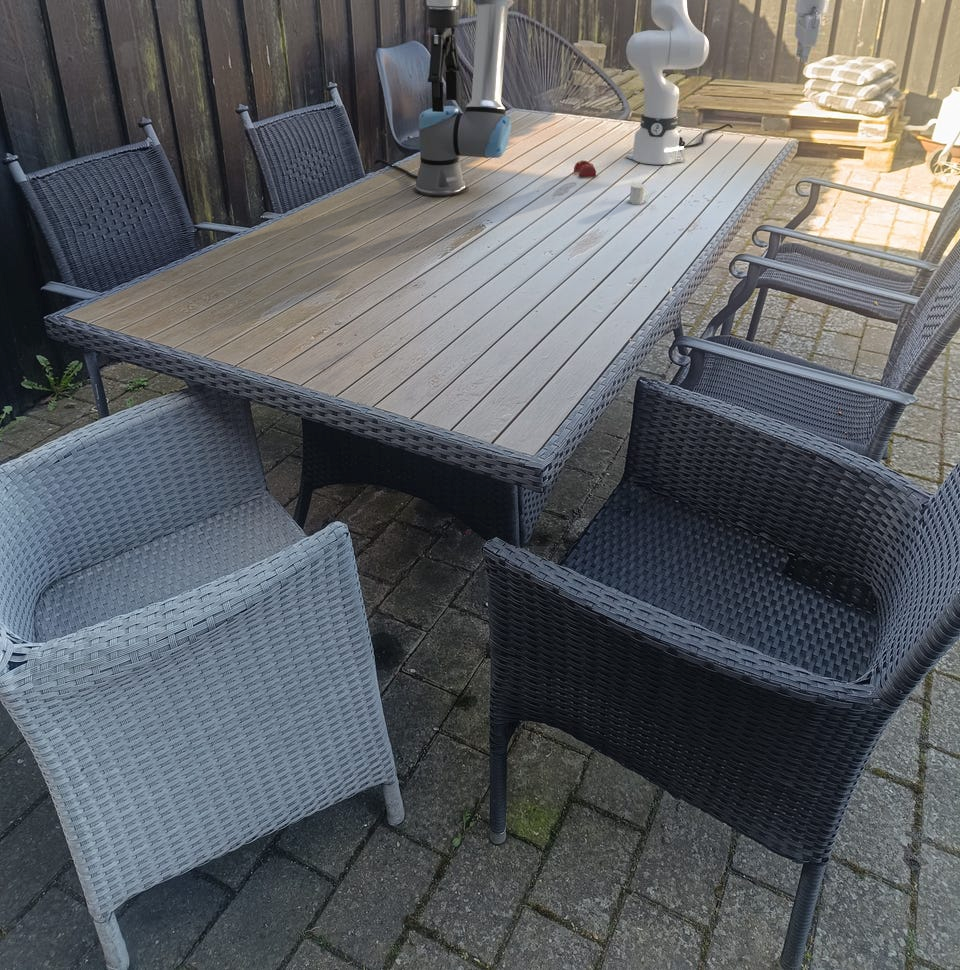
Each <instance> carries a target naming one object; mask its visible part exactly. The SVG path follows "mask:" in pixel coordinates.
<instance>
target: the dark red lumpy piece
mask: <svg viewBox="0 0 960 970" xmlns="http://www.w3.org/2000/svg"><path fill="white" fill-rule="evenodd" d="M573 173H574V174H575V173H578V177H579V178H589V177H590V178H591V177H596V176H597V170H596V167H595V165H594V164H593V163H591V162H588V160H579V161H578V162H576V163H575V164H574V167H573Z"/></svg>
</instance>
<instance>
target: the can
mask: <svg viewBox="0 0 960 970" xmlns="http://www.w3.org/2000/svg"><path fill="white" fill-rule="evenodd" d="M629 192H630V193H629V201H628V202H629V203H630V204H633V205H641V204H643V203H644V201H645V193H646V185H645V184H643V183H632V184H630V191H629Z"/></svg>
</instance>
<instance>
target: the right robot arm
mask: <svg viewBox="0 0 960 970" xmlns="http://www.w3.org/2000/svg"><path fill="white" fill-rule="evenodd" d="M830 2H831V1H830V0H796V3H795V9H794V12H795V13H796V18H795V27H794V37H795V39H796V40H797V46H796V47H797V48H796V53H795V56H796V57H797V58H800V62H801V63H808V61H809V56H810V54H811V51H812V48H814V47H816V46H817V44H818V40H819V36H820V35H819V34H820V29H821V25H822V24H821V22H822V17H823V15H826V14H828V11H829V5H830ZM650 16H651V19H652V21H653V22H654V25H656V26H657V27H658V28H660V30H658V29H657V30H653V29H652V30H649V29H647V30H643V31H639V32H634V33H633V34H632V35H631V36H630V38H629V40H628V41H627V44H626V48H625V54H626V55H625V56H626V59H627V62H628V63H629V65H630V66H631V67H632V68H633V69H634V70H635V71H636V72H637V73H638V75H639V77H640V79H641V82H642V85H643V91H644V93H643V110H642V114H641V116H640V123H639V125H640V127H639V129H638V130H636V132H634V139H633V144H632V145H633V146H632V151H630V152H629V153H627V154H626V158H627V159H630V160H633V161H635V162H636V163H641V164H646V165H654V166H655V165H658V166H659V165H662V166H663V165H670V164H674V163H683V162H684V157H683V155H682V153H681V150H684V149H685V148H693V147H696V146H700V145H702V144H703V143H704V141H705V137H706V135H707V134H708V133H712V132H716V131H720V130H723V129H725V128H726V127H729V128H730V129H733V128H734V127H733V125H732V124H731V123H726V124H724V125H721V126H719V127H716V128H712V129H707V130H705V131H704V132H703V133H702V136H701V141H699V142H697V143H693V144H688V145H686V141H685V140H683V137H682V136H680V134H679V132H678V131H677V127H678V122H679V117H678V109H679V101H680V89H679V87H678V86H677V85H676V84H675V83H673V82H672V81H671V80H669V79H667V78H665V77H664V75H663V73H664V72H663V71H664V70H682V71H683V70H691V69H697V68H699V67H702V66H703V65H704V63H705V62H706V61H707V59H708V56H709V52H710V43H709V40H708V37H707V36H706V35H705V33H703V32H702V31H700V30H699V29H698V28H697V27H696V26H695V24H693V22H692V20H691V18H690V16H689V12H688V0H651V1H650ZM661 29H662V30H661Z"/></svg>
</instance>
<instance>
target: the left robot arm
mask: <svg viewBox="0 0 960 970" xmlns="http://www.w3.org/2000/svg"><path fill="white" fill-rule="evenodd" d="M425 2H426V6H427V7H428V8H427V10H426V24H427V27H429V28H432V29H435V33H434V34H431V36H430V54H429V55H430V56H429V70H428V77H427V82H428V83H431V108H429V109H426V110H423V111H422V112H421V113H420V114H419V117H418V118H419V119H418V120H419V121H418V136H419V138H418V139H419V157H420V158H419V159H420V161H419V162H420V164H419V168H418V172H417V175H416V174H413V173H411V172H410V171H408V170H406V169H404V168H403V167H400V166H397V165H396V164H392V163H390V162H389V161H386V160H385V159H383V158H377V159H376V160H375V161H374V163H373V164H375V165H377V164H378V163H382V164H384V165H385V166H388V167H390V168H392V169H395V170H397V171H399V172H401V173H403V174H405V175H407V176H408V177H410V178H413V179H416V180H415V185H414V186H415V192H417V193H418V194H420V195H424V196H430V197H450V196H455V195H459V194H461V193H463V192H464V191H466V181H465V179H464V176H463V172H462V169H461V165H460V157H469V158H470V157H473V158H484V159H489V158H490V159H499V158H501V157H502V156H503V155H504V154H505V152H506V149H507V147H508V144H509V140H510V135H511V129H512V128H511V127H512V126H511V124H512V121H511V117H510V116H509V115H507V114H506V112H507V110H506V108H505V106H504V105H503V104H502V93H503V82H504V81H503V80H504V69H505V67H504V66H505V52H506V41H507V26H508V25H507V24H508V12H509V8H511V7H512V6H513V5H514V2H515V0H472V2H473V3H474V5H475V6H476V21H475V23H476V24H475V38H474V54H473V70H472V71H473V72H472V73H473V74H472V87H471V100H470V102H468V103H467V104H466V106H465V113H463V112H460V110H459V108H458V106H455V105H445V100H446V101H457V100H458V72H460V71H461V66H460V62H459V54H458V47H457V37H456V28H458V27H459V26H460V10H459V8H457V7H458V6H459V5H460V3H459V2H460V0H425ZM444 69H446V71H445V89H444V81H443V77H444ZM444 90H445V91H444ZM444 92H445V93H444ZM444 94H445V95H444ZM444 97H445V98H444ZM392 165H394V166H392Z"/></svg>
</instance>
